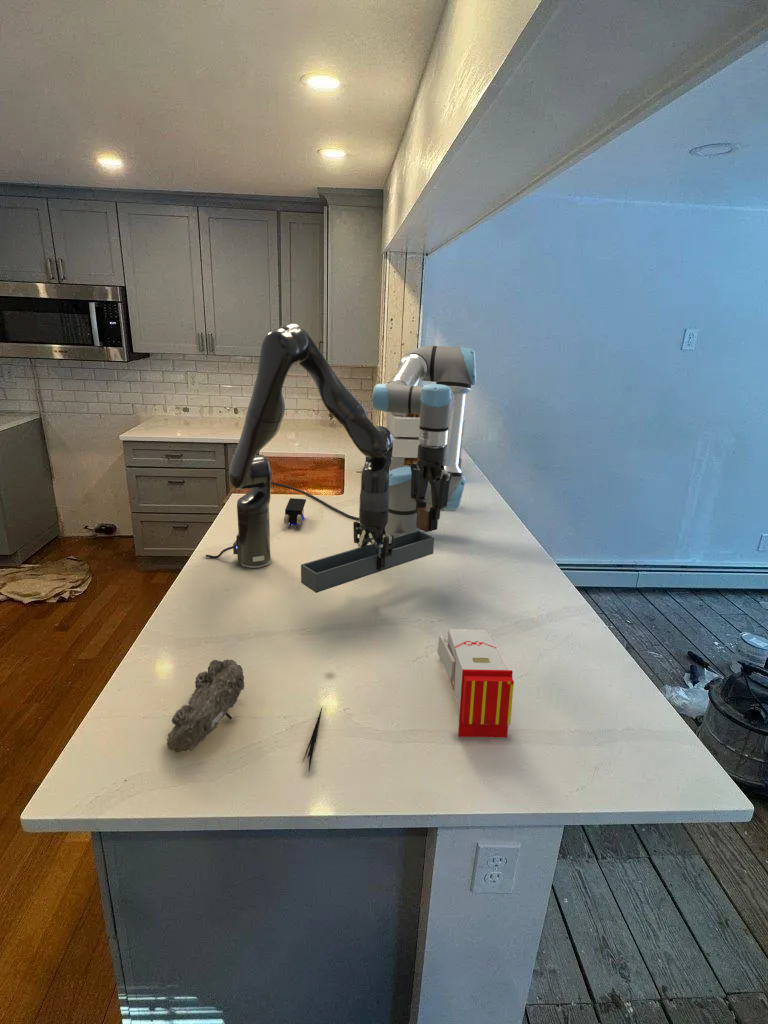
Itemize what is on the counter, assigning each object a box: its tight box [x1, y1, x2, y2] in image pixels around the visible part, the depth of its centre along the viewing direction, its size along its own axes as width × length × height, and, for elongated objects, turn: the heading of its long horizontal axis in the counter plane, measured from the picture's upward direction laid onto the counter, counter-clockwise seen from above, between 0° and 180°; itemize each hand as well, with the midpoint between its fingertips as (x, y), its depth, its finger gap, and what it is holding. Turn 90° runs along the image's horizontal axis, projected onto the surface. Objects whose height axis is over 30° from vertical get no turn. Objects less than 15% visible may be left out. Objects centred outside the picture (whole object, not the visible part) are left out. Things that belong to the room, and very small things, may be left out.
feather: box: [301, 673, 332, 771], centre depth 108 cm, size 2×28×2 cm
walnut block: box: [416, 505, 432, 533], centre depth 156 cm, size 4×4×6 cm
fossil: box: [166, 658, 245, 754], centre depth 106 cm, size 22×10×15 cm
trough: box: [300, 530, 436, 594], centre depth 150 cm, size 7×40×5 cm, turn 131°
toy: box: [437, 628, 515, 738], centre depth 117 cm, size 12×13×30 cm
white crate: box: [385, 412, 465, 472], centre depth 268 cm, size 34×33×41 cm
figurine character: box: [283, 497, 307, 529], centre depth 204 cm, size 7×8×15 cm
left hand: (371, 564), depth 150 cm, fingers closed on trough, 6 cm apart
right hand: (426, 527), depth 157 cm, fingers closed on walnut block, 4 cm apart
